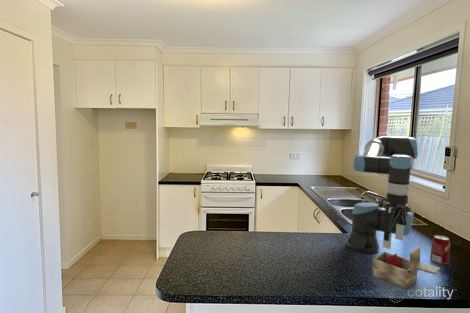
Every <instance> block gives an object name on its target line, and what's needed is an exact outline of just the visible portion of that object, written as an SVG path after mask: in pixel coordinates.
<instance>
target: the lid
mask: <svg viewBox="0 0 470 313" xmlns="http://www.w3.org/2000/svg"><path fill="white" fill-rule="evenodd" d="M409 260H410V271H411V272H412V271H413V270H414V269H416V270H418V271H421V272H424V273H429V274H432V275H437V274H438V272H439V271H441V267H439V266H434V265H430V264H426V263H424V262H423V263H422V262H421V247H420V246H417V247H416V248H415V249H414V250H412V251H411V252H410V253H409Z"/></svg>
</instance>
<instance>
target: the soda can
mask: <svg viewBox="0 0 470 313" xmlns="http://www.w3.org/2000/svg"><path fill="white" fill-rule="evenodd" d="M450 248H451V242H450V239H449V237H447V236H444V235H440V234H435V235H433V238H432V239H431V249H430V258H429V260H430V261H432V262H433V263H435V264H438V265H447V264H449V256H450V250H451V249H450Z"/></svg>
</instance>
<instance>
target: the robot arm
mask: <svg viewBox="0 0 470 313" xmlns="http://www.w3.org/2000/svg"><path fill="white" fill-rule="evenodd" d="M417 158H418V143H417V139H416V138H415V137H412V136H411V137H410V136H387V135H386V136H385V135H383V136H377V137H375V138H372V139H370V140H368V141H367V142H366V144H365V145H364V152H363V153H362V155H355V156H354V158H353V166H352V167H353V170H354V171H355V172H359V173H367V174H377V175H378V174H380V175H388V177H387V178H388V180H387V185H386V192H387V193H386V199H385V200H386V203H384V204H383V207H380V206H379V204H378V203H377V202H376V203H375V202H357V203H356V204H354V205H353V209H352V212H351V213H352V219H351V220H352V222H351V230H350V231H351V232H350V233H349V235H348V238H347V240H346V246H347V247H348V248H349V249H350V250H352V251H356V252H359V253H363V254H376V253H377V254H378V252H379V251H380V245H379V244H380V243H379V241H378V237H377V232H383V240H382V248H385V249H388V250H391V249H392V247H391V246H392V237H393V236H392V235H395V237H394V239H395V240H400V241H403V240H404V236H405V237H406V236H408V235H410V233H411V229H412V224H413V220H414V215H415V213H414V212H413V211H412V209H411V207H410V206H409V205H408V203H409V202H408V201H409V190H411V186H410V180H411V177H410V176H411V171H412V163H414V162H415V161H414V160H416V159H417Z"/></svg>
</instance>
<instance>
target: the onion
mask: <svg viewBox="0 0 470 313" xmlns="http://www.w3.org/2000/svg"><path fill="white" fill-rule="evenodd" d="M397 256H398V254H397V253H394V254H393V255H392V256H389V257H388V258H387V259H386V263H387V264H390V265H393V266H396V267H398V268H401V266H402V264H401V261H400V259H399V258H398V257H397Z"/></svg>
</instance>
